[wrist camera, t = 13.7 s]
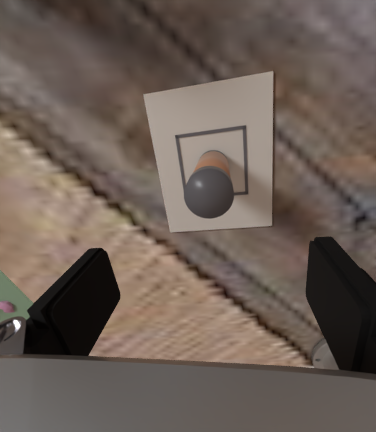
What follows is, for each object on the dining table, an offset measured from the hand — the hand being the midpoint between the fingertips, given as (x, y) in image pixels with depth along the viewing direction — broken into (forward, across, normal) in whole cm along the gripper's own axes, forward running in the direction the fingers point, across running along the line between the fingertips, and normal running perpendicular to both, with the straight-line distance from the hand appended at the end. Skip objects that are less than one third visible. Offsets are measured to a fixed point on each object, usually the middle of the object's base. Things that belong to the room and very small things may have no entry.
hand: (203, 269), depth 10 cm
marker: (+21, 0, -1) cm, 21 cm away
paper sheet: (+22, 0, -1) cm, 22 cm away
